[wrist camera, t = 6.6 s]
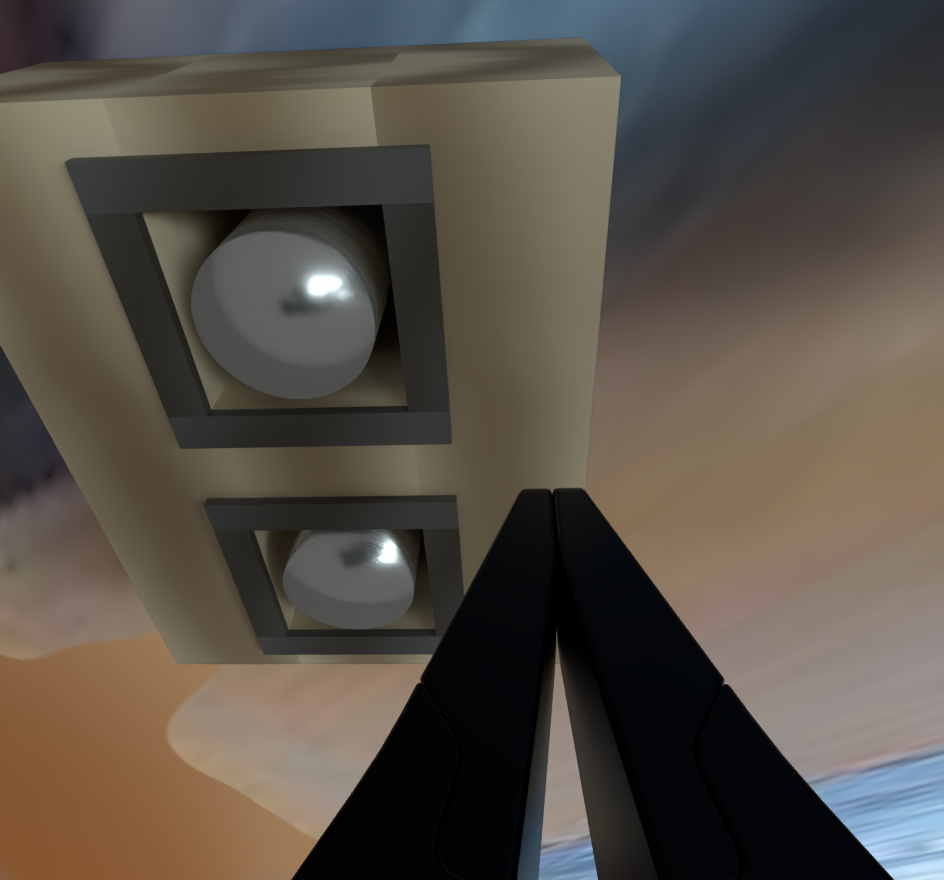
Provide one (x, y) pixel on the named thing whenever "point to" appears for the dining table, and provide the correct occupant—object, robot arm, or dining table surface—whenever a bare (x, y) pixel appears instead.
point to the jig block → (398, 338)
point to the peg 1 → (295, 298)
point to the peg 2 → (353, 575)
